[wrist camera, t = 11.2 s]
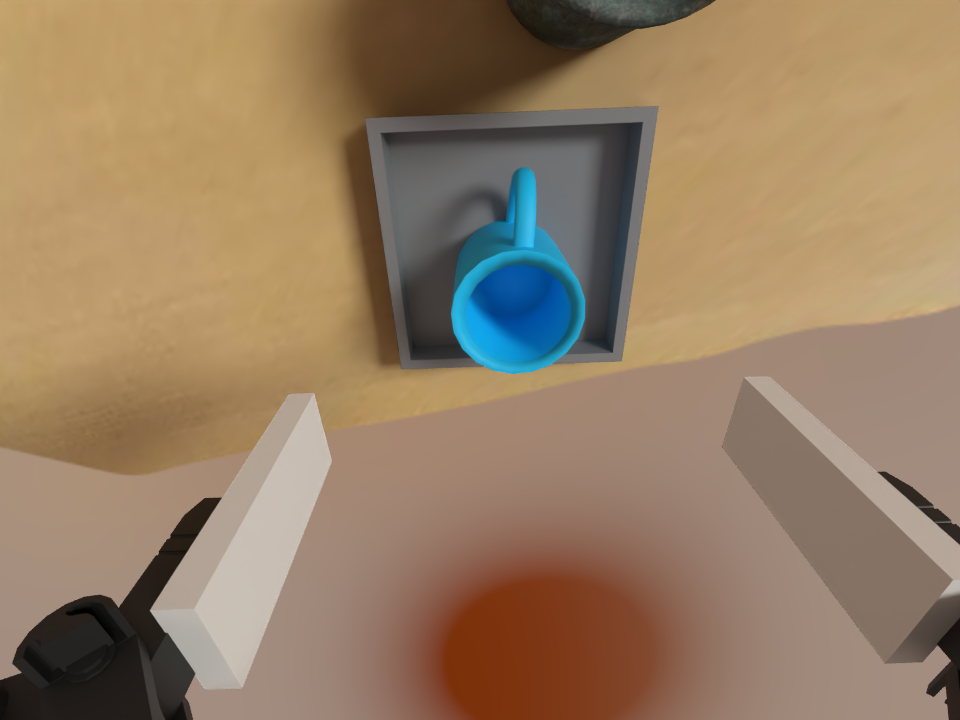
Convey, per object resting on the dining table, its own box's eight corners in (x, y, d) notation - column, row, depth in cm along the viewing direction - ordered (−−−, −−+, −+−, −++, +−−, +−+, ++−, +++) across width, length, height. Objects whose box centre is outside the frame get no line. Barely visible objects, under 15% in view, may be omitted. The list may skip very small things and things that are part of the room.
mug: (554, 323, 36) (574, 376, 29) (454, 319, 35) (449, 371, 28) (578, 163, 30) (610, 180, 23) (458, 157, 30) (453, 171, 22)
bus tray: (406, 351, 38) (401, 369, 35) (374, 117, 29) (365, 118, 26) (611, 343, 37) (621, 361, 35) (641, 106, 29) (658, 106, 26)
